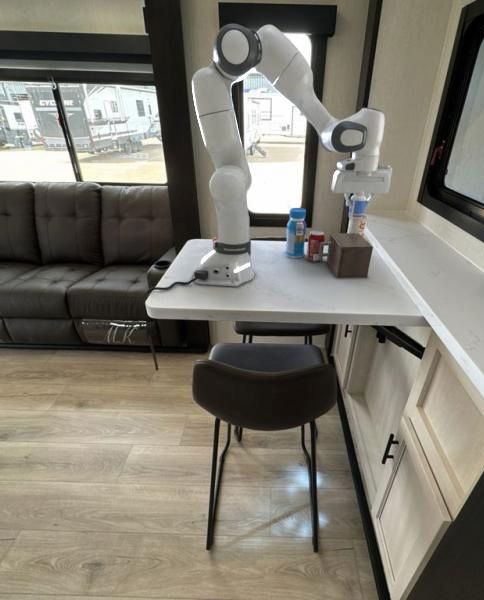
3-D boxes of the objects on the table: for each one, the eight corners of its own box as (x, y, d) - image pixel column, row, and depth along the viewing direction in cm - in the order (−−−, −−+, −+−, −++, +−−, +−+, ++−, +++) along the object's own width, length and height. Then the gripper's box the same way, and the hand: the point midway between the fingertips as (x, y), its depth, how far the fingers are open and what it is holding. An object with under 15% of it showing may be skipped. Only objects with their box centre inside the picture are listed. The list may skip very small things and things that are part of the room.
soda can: (323, 262, 129) (326, 235, 123) (307, 262, 129) (309, 234, 123) (321, 256, 135) (324, 230, 129) (305, 256, 135) (308, 229, 128)
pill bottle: (366, 217, 112) (371, 190, 108) (358, 220, 109) (363, 191, 104) (353, 214, 116) (357, 187, 111) (345, 216, 113) (349, 189, 108)
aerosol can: (356, 256, 136) (364, 211, 126) (342, 253, 139) (349, 209, 129) (361, 252, 141) (369, 208, 131) (347, 249, 144) (354, 206, 134)
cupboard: (339, 278, 116) (344, 246, 110) (328, 261, 130) (332, 233, 124) (366, 277, 118) (373, 246, 111) (353, 261, 131) (358, 233, 125)
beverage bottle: (282, 256, 134) (284, 210, 123) (288, 250, 140) (291, 206, 130) (300, 259, 131) (304, 213, 121) (306, 253, 138) (310, 208, 128)
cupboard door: (326, 278, 116) (330, 247, 110) (317, 261, 129) (320, 233, 123) (338, 277, 116) (343, 247, 110) (328, 261, 130) (331, 233, 124)
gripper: (389, 164, 107) (381, 204, 114) (332, 162, 105) (328, 203, 112) (397, 166, 102) (388, 208, 109) (337, 165, 100) (332, 207, 107)
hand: (357, 205), depth 110 cm, fingers closed on pill bottle, 5 cm apart
